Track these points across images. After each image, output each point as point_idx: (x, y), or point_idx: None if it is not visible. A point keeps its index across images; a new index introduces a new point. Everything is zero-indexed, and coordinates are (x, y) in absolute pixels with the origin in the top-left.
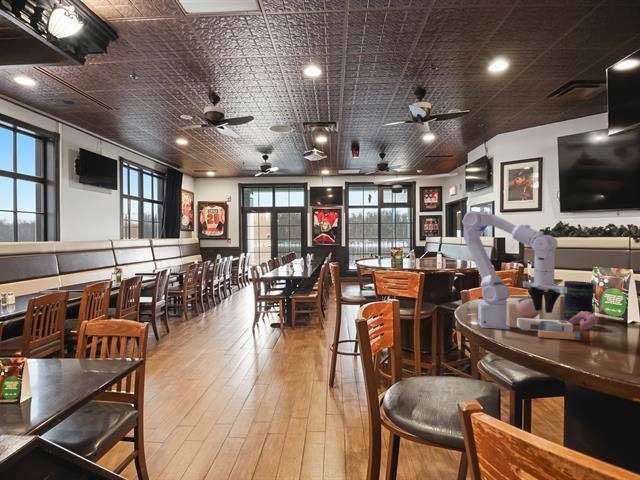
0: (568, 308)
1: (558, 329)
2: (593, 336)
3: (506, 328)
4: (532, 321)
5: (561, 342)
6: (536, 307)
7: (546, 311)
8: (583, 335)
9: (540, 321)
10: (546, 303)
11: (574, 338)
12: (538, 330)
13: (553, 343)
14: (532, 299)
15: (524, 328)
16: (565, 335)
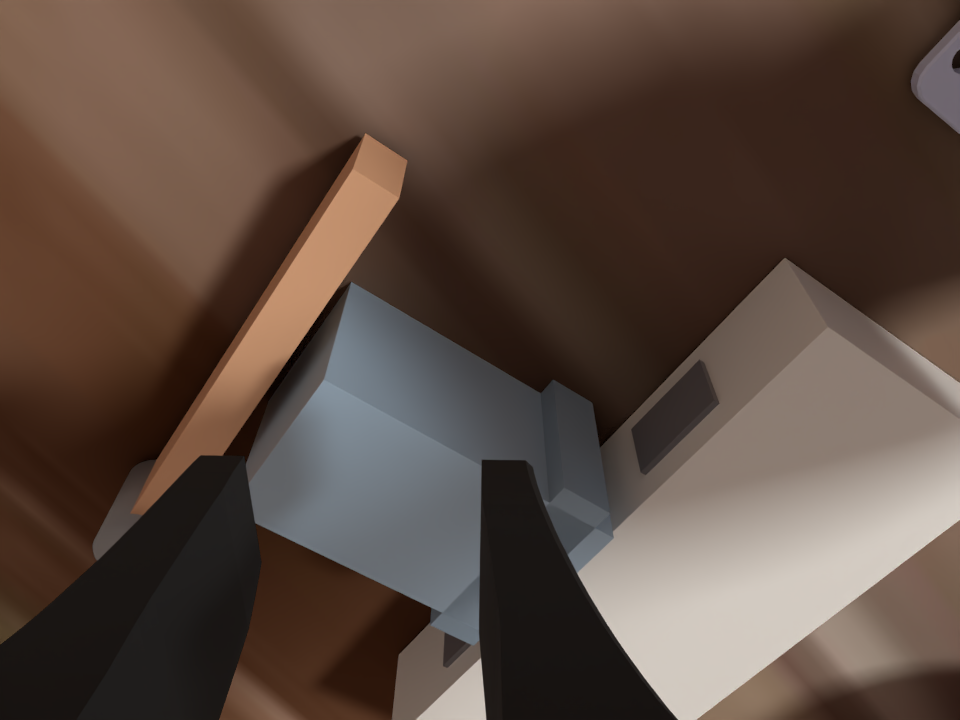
0: None
1: (263, 443)
2: (252, 716)
3: (954, 33)
4: (742, 484)
5: (96, 224)
6: (483, 504)
7: (204, 469)
8: (306, 676)
9: (596, 501)
10: (96, 606)
11: (153, 467)
12: (391, 193)
13: (62, 62)
14: (596, 639)
15: (763, 298)
16: (187, 417)
